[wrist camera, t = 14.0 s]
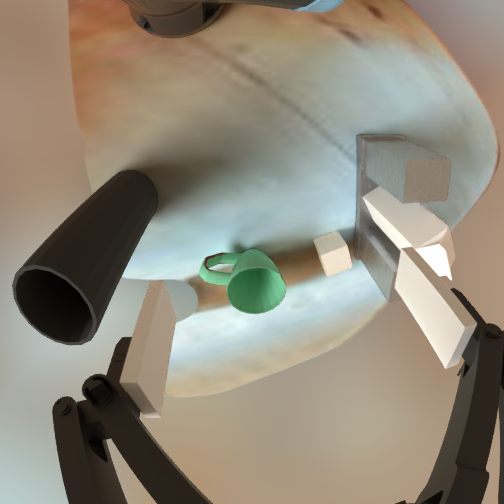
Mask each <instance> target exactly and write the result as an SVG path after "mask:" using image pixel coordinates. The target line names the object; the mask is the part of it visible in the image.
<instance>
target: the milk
mask: <svg viewBox="0 0 504 504" xmlns="http://www.w3.org/2000/svg"><path fill="white" fill-rule="evenodd" d="M363 199H364V201H365V203H366V205H367V207H368V210H369V212H370V214H371V216H372V218H373V220H374V222H375V223H376V224H377V225H378V226H379V227H380V228H381V230H382V231H383V232H384V233H385V234H386V235H387V236H388V237H389V238H390V239H391V241H392V242H393V243H394V244H395V245H396V246H397V247H398V249H399V250H400V251H401V248H406V247H413V248H414V249H415V250H416V251H417V252H418V253H419V254H420V256H421V257H422V258H423V259H424V260H425V261H426V262H427V263H428V264H429V265H430V267H431V268H432V269H433V270H434V271H435V272H436V273H437V275H438V276H444V275H446V276H447V277H448V278H449V279H450V280H452V276H451V272H450V268H451V266H452V264H453V262H454V260H455V252H454V247H453V242H452V238H451V233H450V229H449V226H448V225H447V224H446V223H444V222H443V221H442V220H441V219H439V218H438V217H437V216H436V215H434V214H433V213H432V212H431V211H429V210H428V209H427V208H425V207H424V206H423V205H421V204H420V203H407V204H402V203H401V202H400V201H399V200H397V199H396V198H395V197H394V196H392V195H391V194H390V193H389V192H387V191H386V190H385V189H383V188H382V187H381V186H379V187H377V188H375V189H374V190H372V191H371V192H369V193H367V194H366V195H364V196H363Z"/></svg>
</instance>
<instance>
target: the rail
mask: <svg viewBox="0 0 504 504" xmlns="http://www.w3.org/2000/svg"><path fill="white" fill-rule="evenodd" d="M356 140H357V192H356V222H355V241H354V256H355V258H356V259H357V260H361V261H362V262H363V264H364V265H365V267H366V268H367V270H368V271H369V273H370V274H371V276H372V278H373V279H374V281H375V282H376V284H377V285H378V287H379V289H380V290H381V292H382V293H383V295H384V297H385V298H386V300H387V301H388V302H393V301H397V300H402V298H401V296H400V295H399V293H398V292H397V290H396V289H395V282H396V276H397V271H398V265H399V259H400V253H401V251H400V250H399V249H398V247H397V246H396V245H395V244H394V243H393V242H392V241H391V239H390V238H389V237H388V236H387V235H386V234H385V233H384V232H383V231H382V230H381V228H380V227H379V226H378V225H377V224H376V223H375V222H374V220H373V218H372V216H371V214H370V212H369V210H368V207H367V205H366V203H365V201H364V199H363V196H364V195H366V194H367V193H369V192H371V191H372V190H374V189H375V188H377V187H379V186H381V187H382V188H383V189H385V190H386V191H387V192H389V193H390V194H391V195H392V196H394V197H395V198H396V199H397V200H399V201H400V202H401V203H402V204H407V203H419V202H431V201H444V200H447V196H448V188H449V179H450V169H451V160H449V159H447V158H445V157H443V156H441V155H439V154H436V153H434V152H432V151H430V150H427V149H425V148H423V147H420V146H418V145H416V144H413V143H411V142H408V141H406V137H405V136H402V135H356Z"/></svg>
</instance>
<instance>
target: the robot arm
mask: <svg viewBox="0 0 504 504" xmlns="http://www.w3.org/2000/svg"><path fill="white" fill-rule="evenodd" d="M123 1H124V2H126V3H127V4H129V9H130V13H131V15H132V17H133V19H134V21H135V22H136V23H137V24H138V25H139V26H140V27H141V28H142V29H144V30H145V31H147V32H148V33H150V34H152V35H155V36H158V37H163V38H180V37H185V36H189V35H192V34H195V33H197V32H199V31H201V30H203V29H204V28H206V27H207V26H209V25H210V24H211V23H212V22H213V21H215V19H216V18H217V17H218V16H219V15H220V13H221V11H222V10H223V8H224V5H225V3H241V4H252V5H262V6H270V7H277V8H284V9H288V10H291V11H309V12H316V13H325V12H329V11H331V10H334V9H335V8H337V7H338V6H340V5H341V4H342V3H343V2H344V1H345V0H123ZM395 289H396V290H397V292H398V293H399V295H400V296H401V298H402V299H403V301H404V302H405V304H406V305H407V307H408V308H409V310H410V311H411V313H412V314H413V316H414V318H415V319H416V321H417V322H418V324H419V325H420V327H421V329H422V330H423V332H424V333H425V335H426V336H427V338H428V340H429V341H430V343H431V345H432V347H433V348H434V350H435V352H436V353H437V355H438V356H439V358H440V360H441V362H442V363H443V365H444V367H445V368H449V367H451V366H454V365H457V364H458V362H459V360H460V358H461V356H462V357H463V359H464V360H465V361H464V363H463V365H462V367H461V369H460V370H459V372H458V374H457V375H458V376H459V375H460V373H461V376H460V381H459V385H458V390H457V394H456V398H455V403H454V406H453V410H452V414H451V417H450V421H449V424H448V428H447V431H446V434H445V437H444V441H443V444H442V446H441V449H440V452H439V455H438V458H437V460H436V463H435V466H434V468H433V471H432V474H431V476H430V478H429V481H428V483H427V485H426V487H425V488H424V489H423V491H422V492H421V493H420V495H419V497H418V498H417V500H416V502H415V503H406V501H405V500H404V501H401V502H399V503H396V504H481V503H482V500H483V497H484V494H485V491H486V487H487V484H488V480H489V472H487V471H486V464H487V461H488V457H489V452H490V448H491V443H492V439H493V434H494V429H495V424H496V418H497V411H498V407H499V419H500V420H499V421H500V476H499V493H498V504H504V331H501V329H500V328H499V327H498V326H496V325H494V324H490V323H488V324H486V322H485V321H484V320H483V318H482V317H481V316H480V315H479V313H478V312H477V311H476V310H475V308H474V307H473V306H471V304H470V302H469V301H467V299H466V297H465V296H464V295H463V294H462V293H461V292H459V291H458V290H456V289H455V288H453V289H449V287H448V286H447V285H446V284H445V283H444V281H443V280H442V279H441V278H440V277H439V276H438V275H437V273H436V272H435V271H434V270H433V269H432V268H431V267H430V265H429V264H428V263H427V262H426V261H425V260H424V259H423V258H422V257H421V256H420V254H419V253H418V252H417V251H416V250H415V249H414V248H413V247H406V248H401V253H400V259H399V265H398V271H397V276H396V282H395ZM175 324H176V315H175V313H174V310H173V307H172V304H171V301H170V298H169V295H168V292H167V289H166V286H165V283H164V280H158V281H150V284H149V287H148V289H147V292H146V295H145V298H144V302H143V304H142V308H141V311H140V314H139V317H138V320H137V323H136V326H135V330H134V333H133V336H132V337H122V338H121V340H120V341H119V342H118V343H117V345H116V347H115V350H114V353H113V356H112V359H111V363H110V365H109V369H108V372H107V375H106V376H105V375H103V374H95V375H93V376H90V377H89V378H88V379H87V380H86V381H85V382H84V384H83V386H82V392H83V395H84V396H85V398H86V399H87V400H83V401H79V402H76V401H75V400H74V399H73V398H72V397H68V396H66V397H62V398H60V399H58V400H57V401H56V402H55V404H54V406H53V410H52V413H53V423H54V431H55V439H56V445H57V451H58V457H59V462H60V468H61V473H62V477H63V482H64V486H65V490H66V494H67V498H68V502H69V504H128V503H127V501H126V498H125V496H124V493H123V490H122V488H121V485H120V482H119V480H118V477H117V474H116V471H115V468H114V465H113V462H112V459H111V455H110V452H109V449H108V445H107V442H106V439H110V438H111V439H112V441H113V442H114V444H115V445H116V447H117V449H118V450H119V452H120V453H121V455H122V456H123V458H124V459H125V461H126V462H127V464H128V465H129V467H130V468H131V470H132V471H133V472H134V474H135V475H136V477H137V478H138V479H139V480H140V482H141V483H142V485H143V486H144V487H145V489H146V490H147V491H148V493H149V494H150V495H151V496H152V498H153V499H154V500H155V502H156V503H157V504H213V503H211V501H210V500H208V498H207V497H206V496H204V494H202V493H201V491H200V490H199V489H198V488H197V487H196V486H195V485H194V484H193V483H192V482H191V481H190V480H189V479H188V478H187V477H186V475H185V474H184V473H183V472H182V471H181V470H180V469H179V468H178V467H177V465H176V464H175V463H174V462H173V461H172V460H171V458H170V457H169V456H168V455H167V454H166V453H165V451H164V450H163V449H162V448H161V446H160V445H159V444H158V443H157V441H156V440H155V439H154V438H153V436H152V435H151V434H150V433H149V431H148V430H147V429H146V427H145V426H144V425H143V423H142V422H141V421H140V419H139V417H140V411H141V413H142V414H143V415H144V416H145V417H150V418H153V417H154V418H161V414H162V406H163V399H164V392H165V385H166V379H167V372H168V365H169V359H170V353H171V347H172V341H173V335H174V329H175Z"/></svg>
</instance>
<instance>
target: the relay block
mask: <svg viewBox="0 0 504 504" xmlns="http://www.w3.org/2000/svg"><path fill="white" fill-rule="evenodd" d="M313 242H314V245H315V248H316V251H317V254H318V257H319V260H320V262H321V264H322V267H323V269H324V271H325V273H326V275H327V277H329V276H331V275H334V274H337V273H339V272H342V271H344V270H347V269H350V268H352V263H351V259H350V255H349V251H348V247H347V244H346V243H345V241H344V240H343V238H342V237H341V235H340V234H339V232H338V231H337V230H336V231H333V232H330V233H328V234H325V235H322V236H320V237H317V238H314V239H313Z"/></svg>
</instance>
